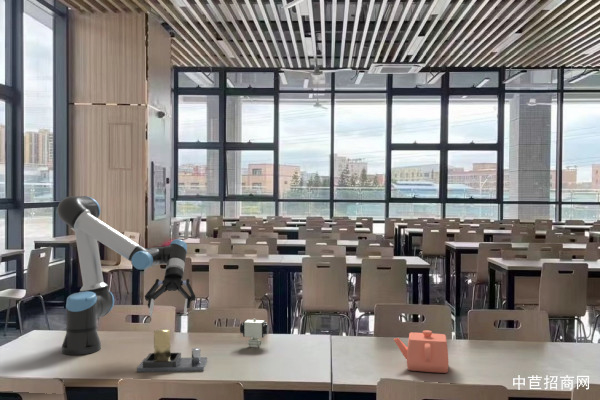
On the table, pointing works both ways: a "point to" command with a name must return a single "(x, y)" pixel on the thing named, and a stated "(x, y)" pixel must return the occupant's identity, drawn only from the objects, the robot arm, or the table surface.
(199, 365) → the base
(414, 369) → the teapot
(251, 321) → the pneumatic valve
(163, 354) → the gold tapered block
